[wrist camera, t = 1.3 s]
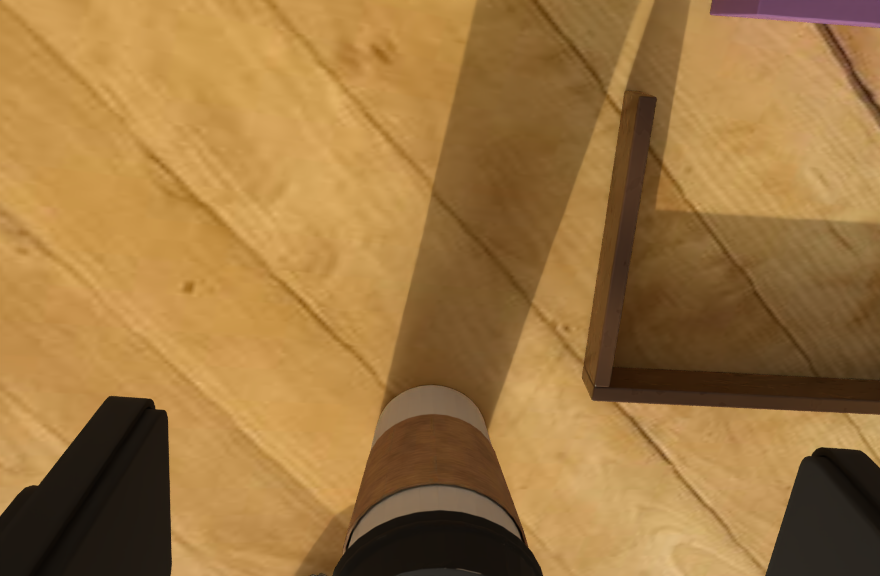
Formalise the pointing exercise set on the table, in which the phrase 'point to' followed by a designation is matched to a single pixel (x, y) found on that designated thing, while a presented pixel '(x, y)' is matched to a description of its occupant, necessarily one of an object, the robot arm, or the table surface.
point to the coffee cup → (434, 496)
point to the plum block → (804, 11)
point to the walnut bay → (676, 383)
